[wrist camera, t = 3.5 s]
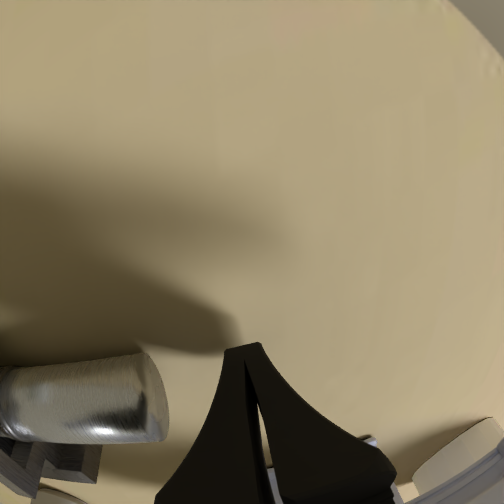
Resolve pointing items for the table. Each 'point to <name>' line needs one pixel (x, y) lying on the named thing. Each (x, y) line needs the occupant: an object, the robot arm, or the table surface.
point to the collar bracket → (46, 464)
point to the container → (458, 455)
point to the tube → (85, 402)
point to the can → (54, 498)
